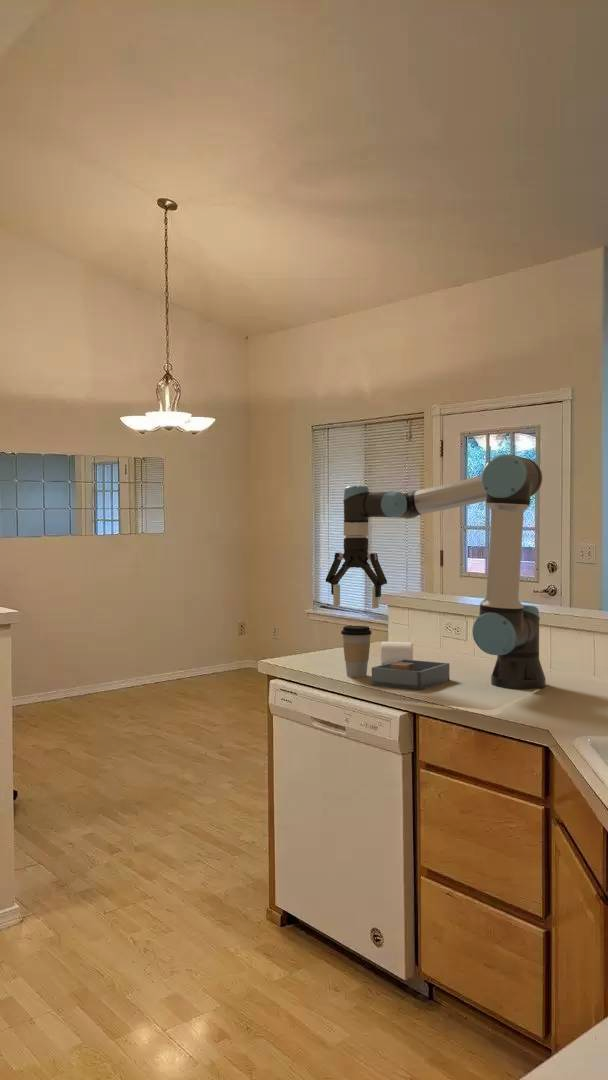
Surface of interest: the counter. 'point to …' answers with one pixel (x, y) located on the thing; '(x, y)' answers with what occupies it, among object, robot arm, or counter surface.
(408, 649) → the mug
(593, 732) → the counter surface
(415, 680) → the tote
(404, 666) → the walnut block
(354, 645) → the coffee cup
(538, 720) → the counter surface
